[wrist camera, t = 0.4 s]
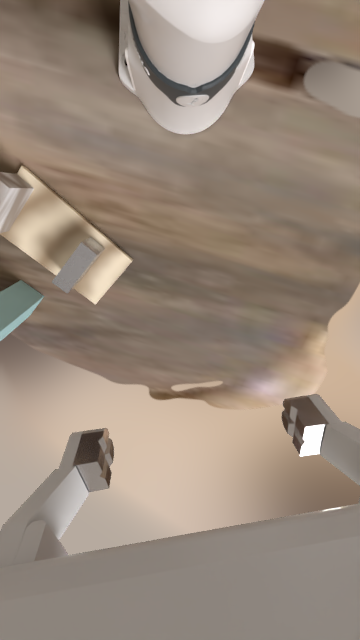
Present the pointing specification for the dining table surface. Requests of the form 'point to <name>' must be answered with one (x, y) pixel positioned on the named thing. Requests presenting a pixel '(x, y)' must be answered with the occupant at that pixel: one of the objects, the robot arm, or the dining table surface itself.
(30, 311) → the teal block
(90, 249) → the block
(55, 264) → the vise base
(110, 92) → the dining table surface
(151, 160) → the dining table surface
